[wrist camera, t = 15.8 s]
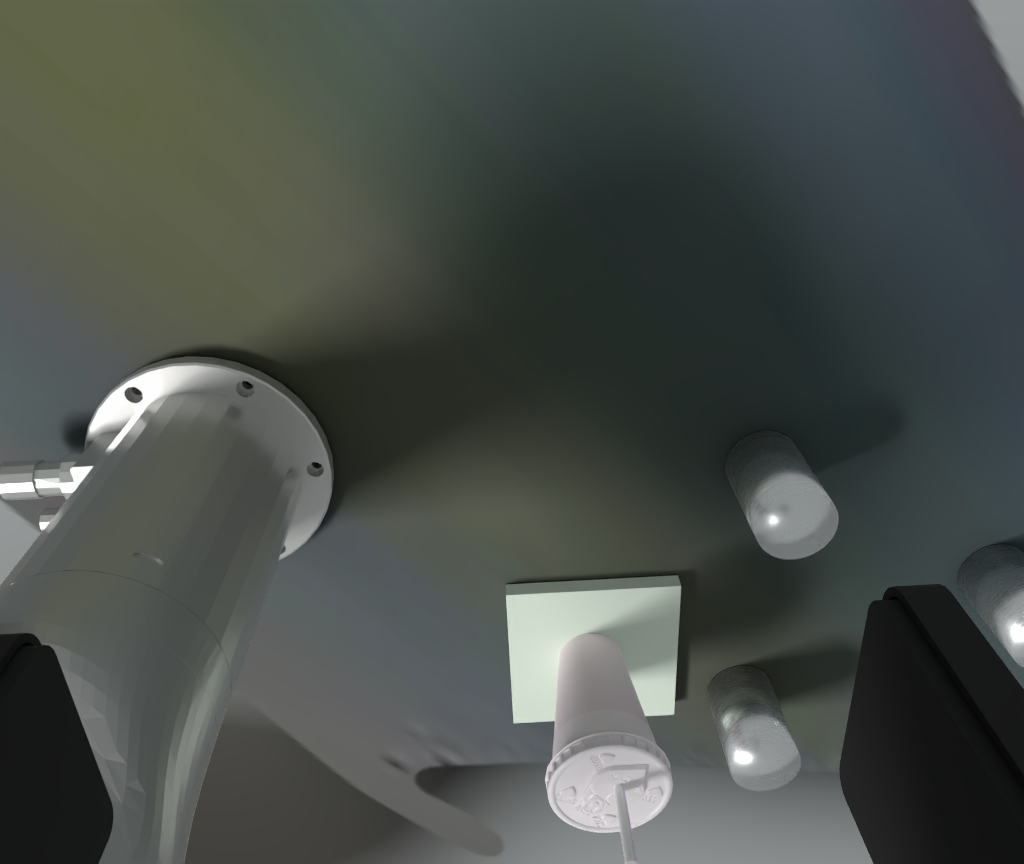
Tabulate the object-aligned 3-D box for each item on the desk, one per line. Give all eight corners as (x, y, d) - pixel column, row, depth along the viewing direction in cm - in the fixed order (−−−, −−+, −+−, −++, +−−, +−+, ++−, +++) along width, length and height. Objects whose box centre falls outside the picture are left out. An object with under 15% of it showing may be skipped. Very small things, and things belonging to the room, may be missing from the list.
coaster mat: (513, 711, 56) (513, 723, 55) (505, 584, 51) (506, 595, 50) (671, 702, 56) (674, 714, 55) (677, 575, 51) (681, 586, 50)
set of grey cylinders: (705, 715, 56) (728, 792, 51) (727, 432, 47) (759, 492, 41) (989, 699, 56) (1041, 775, 51) (1069, 414, 47) (1144, 472, 41)
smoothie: (665, 654, 52) (721, 867, 40) (588, 713, 54) (618, 932, 42) (591, 597, 50) (626, 802, 38) (513, 660, 52) (522, 874, 40)
